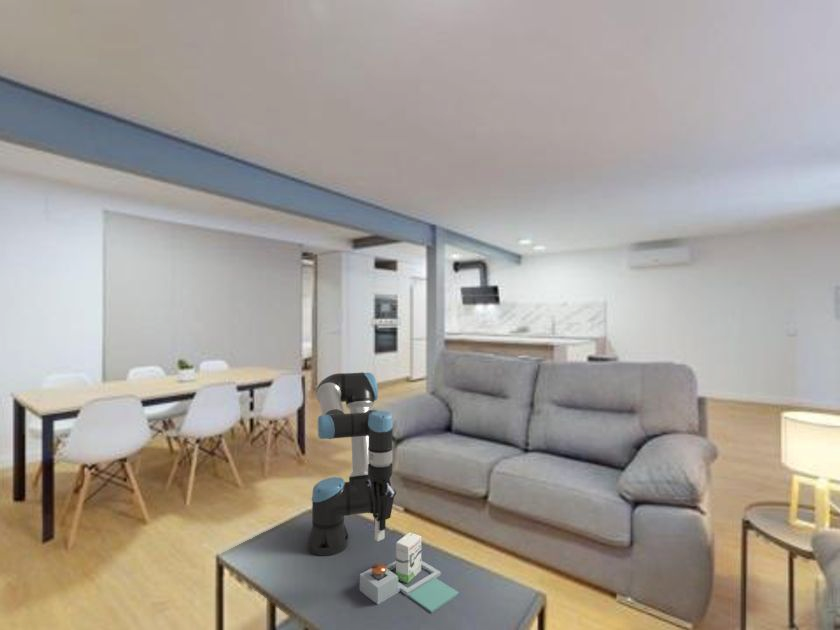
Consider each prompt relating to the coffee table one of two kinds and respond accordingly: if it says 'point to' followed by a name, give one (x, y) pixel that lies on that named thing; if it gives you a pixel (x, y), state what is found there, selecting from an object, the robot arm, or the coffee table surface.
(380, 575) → the plunger
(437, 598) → the mat
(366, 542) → the coffee table surface
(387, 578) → the housing
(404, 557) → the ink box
